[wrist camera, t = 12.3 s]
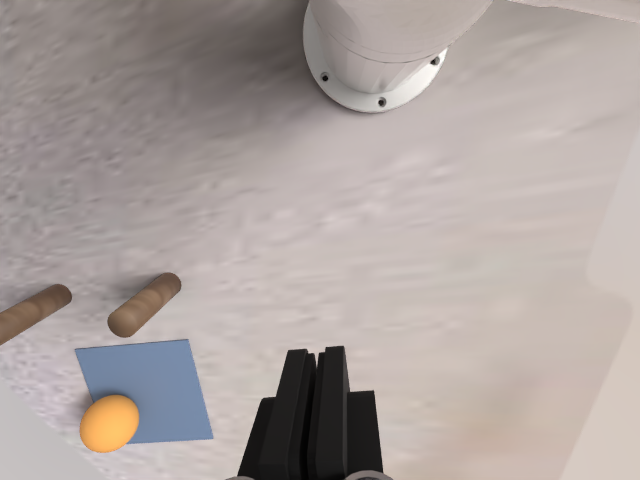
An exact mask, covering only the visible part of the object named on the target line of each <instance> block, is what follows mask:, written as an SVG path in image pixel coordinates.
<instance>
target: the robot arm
mask: <svg viewBox="0 0 640 480" xmlns="http://www.w3.org/2000/svg"><path fill="white" fill-rule="evenodd" d="M507 1H512V2H517V3H522V4H527V5H532V6H537V7H550V6H554V7H559V8H564V9H569V10H574V11H579V12H584V13H590V14H595V15H600V16H605V17H610V18H615V19H620V20H625V21H630V22H635V23H640V0H507ZM492 2H493V0H309V3H308V6H307V10H306V13H305V17H304V25H303V47H304V51H305V56H306V60H307V63H308V66H309V68H310V70H311V73H312V75H313V77H314V78H315V80H316V82H317V83H318V84H319V86H320V87H321V88H322V90H323V91H324V92H325V93H326V94H327V95H328V96H330V97H331V98H332V99H333V100H334V101H336V102H337V103H339V104H341V105H343V106H344V107H346V108H349V109H352V110H355V111H359V112H368V113H376V112H385V111H389V110H392V109H396V108H398V107H400V106H403V105H405V104H407V103H408V102H410V101H411V100H413V99H414V98H416V97H417V96H418V95H420V94H421V93H422V92H423V91H424V90H425V89H426V88H427V87H428V86H429V85H430V83H431V82H432V81H433V79H434V78H435V77H436V75H437V74H438V72H439V70H440V68H441V67H442V65H443V63H444V60H445V57H446V54H447V51H448V48H449V46H450V45H451V44H452V43H453V42H454V41H455V40H457V39H458V38H459V37H460V36H461V35H463V34H464V33H465V32H466V31H467V30H468V29H469V28H470V27H471V26H473V25H474V24H475V22H476V21H477V20H478V19H479V18H480V17H481V16H482V15H483V14H484V12H485V11H486V10H487V8H488V7H489V6H490V4H491V3H492ZM432 60H434V61H435V64H434V65H431V64H430V62H431V61H432ZM324 76H327V77H328V80H327V81H326V82H325V81H323V80H322V79H323V77H324ZM379 100H382V101H383V105H382V106H379V105H378V101H379ZM226 480H393V479H392V478H390V477H389V476H387V475H385V474H383V465H382V456H381V447H380V439H379V430H378V421H377V412H376V404H375V395H374V390H373V391H358V392H350V387H349V379H348V371H347V363H346V355H345V348H344V346H334V347H326V349H325V352H322V353H319V357H318V365H317V367H316V360H315V355H314V353H309V354H308V351H307V349H297V350H288V352H287V356H286V360H285V364H284V368H283V371H282V375H281V379H280V383H279V387H278V390H277V394H276V397H268V398H263V399H262V400H261V402H260V405H259V408H258V411H257V415H256V418H255V421H254V424H253V427H252V430H251V434H250V437H249V440H248V443H247V446H246V449H245V453H244V456H243V459H242V462H241V465H240V468H239V472H238V475H237V477H232V478H229V479H226Z"/></svg>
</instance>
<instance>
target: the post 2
mask: <svg viewBox="0 0 640 480" xmlns="http://www.w3.org/2000/svg"><path fill="white" fill-rule="evenodd" d="M180 289H181V281H180V279H179V278H178V277H177V276H176V275H175V274H173V273H164V274H162V275H161V276H159V277H158V278H157V279H156V280H154V281H153V282H152V283H150V284H149V285H148V286H146V287H145V288H144V289H142V290H141V291H140V292H139V293H137V294H136V295H135V296H133V297H132V298H131V299H129V300H128V301H127V302H126V303H124V304H123V305H122V306H120V307H119V308H118V309H116V310H115V311H114V312H112V313H111V314H110V315H109V317H108V326H109V328H110V330H111V331H112V332H113V333H114V334H115V335H117V336H119V337H124V338H126V337H130V336H132V335H133V334H134V333H136V332H137V331H138V330H139V329H140V328H141V327H142V326H143V325H144V324H145V323H146V322H147V321H148V320H149V319H150V318H151V317H152V316H154V315H155V314H156V313H157V312H158V311H159V310H160V309H161V308H162V307H163V306H164V305H165V304H166V303H167V302H168V301H169V300H170V299H171V298H173V297H174V296H175V295H176V294H177V293H178V292H179V291H180Z"/></svg>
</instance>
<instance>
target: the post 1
mask: <svg viewBox="0 0 640 480" xmlns="http://www.w3.org/2000/svg"><path fill="white" fill-rule="evenodd" d="M71 299H72V295H71V292H70V291H69V289H68V288H67V287H65V286H63V285H60V284H56V285H53V286H51V287H49V288H47V289H45V290H44V291H42V292H40V293H38V294H36V295H34V296H32V297H30V298H28V299H26V300H24V301H22V302H20V303H18V304H16V305H15V306H13V307H11V308H9V309H7V310H5V311H3V312H1V313H0V345H2V344H3V343H5V342H7V341H8V340H10V339H12V338H13V337H15V336H16V335H18V334H20V333H21V332H23V331H25V330H26V329H28V328H30V327H31V326H33V325H34V324H36V323H38V322H39V321H41V320H43V319H44V318H46V317H48V316H49V315H51V314H52V313H54V312H56V311H57V310H59V309H61V308H62V307H64V306H66V305H67V304H69V303H70V302H71Z"/></svg>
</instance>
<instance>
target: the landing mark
mask: <svg viewBox="0 0 640 480" xmlns="http://www.w3.org/2000/svg"><path fill="white" fill-rule="evenodd" d="M75 352H76V355H77V358H78V360H79V363H80V366H81V369H82V372H83V375H84V377H85V380H86V383H87V386H88V389H89V391H90V394H91V397H92V400H93V403H95V402H96V401H98V400H99V399H101V398H103V397H106V396H110V395H122V396H125V397H128V398H129V399H131V400H132V401H133V402H134V403H135V404H136V406H137V408H138V411H139V424H138V427H137V430H136V432H135V434H134V435H133V437H132V438H131V439H130V440H129V441H128V442H127V443H126V444H135V443H153V442H170V441H188V440H206V439H213V434H212V430H211V426H210V423H209V419H208V415H207V411H206V407H205V403H204V399H203V395H202V391H201V388H200V384H199V380H198V376H197V372H196V368H195V364H194V360H193V357H192V353H191V349H190V345H189V341H188V339H186V340H175V341H163V342H151V343H140V344H128V345H116V346H105V347H93V348H81V349H75Z"/></svg>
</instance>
